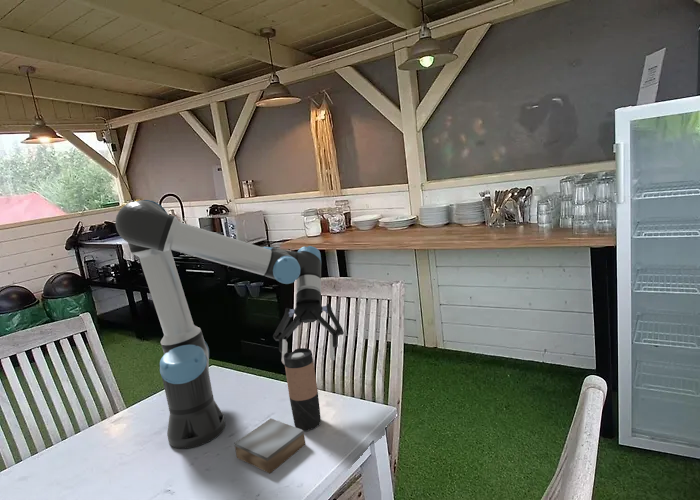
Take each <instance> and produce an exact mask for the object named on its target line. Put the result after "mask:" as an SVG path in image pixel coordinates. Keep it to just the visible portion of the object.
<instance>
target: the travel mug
mask: <svg viewBox="0 0 700 500" xmlns="http://www.w3.org/2000/svg"><path fill="white" fill-rule="evenodd" d="M284 363H285V365H284V368H285V369H284V370H285V375H286V376H285V377H286V383H287V389H288V390H287V391H288V398H289V403H290V408H291V412H292V417H293V422H294V423H293V425H294V427H296V428H299V429H302V430H303V431H304V432H305V431H307V432H308V431H311V430H314V429H316V428H317V427H319V426H320V425H321V422H322V419H321V418H322V417H321V409H320V400H319V392H318V383H317V377H316V372H315V363H314V358H313V352H312V350H311V349H309V348H308V347H307V348H305V347H302V348H301V347H300V348H295V349H294V350H293V351H292V352H287V353H285V354H284Z"/></svg>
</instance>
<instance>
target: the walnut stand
mask: <svg viewBox="0 0 700 500" xmlns="http://www.w3.org/2000/svg"><path fill="white" fill-rule="evenodd" d="M233 445H234V449H235V453H236V458H237V459H238V460H241V461H243V462H245V463H247V464H249V465H251V466H253V467H255V468H257V469H260V470H261V471H263V472H266V473H268V474H272V473H273V471H275V470H276V469H278V468H279V467H280V466H281V465H282V464H283V463H285V462H287V461H288V460H289V459H291V457H292V456H294V455H296V453H297V452H299V451H300V450H301V449H302V448H304V447H305V446H306V437H305V431H303V430H302V429H299V428H296V427H295V426H293V425H290V424H288V423H286V422H282V421H279V420H278V419H277V420H276V419H274V418H269V419H268V420H266V421H265V422H263V423H261V424H260V425H259V426H256V428H254V429H253V430H251V431H250V432H249V433H247V434H245V435H244V436H242V437H241V438H240V439H238V440H237V441H235V442H234V443H233Z"/></svg>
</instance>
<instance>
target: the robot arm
mask: <svg viewBox="0 0 700 500" xmlns="http://www.w3.org/2000/svg"><path fill="white" fill-rule="evenodd" d="M115 228H116V231H117V234H118V235H119V236H120V238H121V239H123V241H125V242H127V244H128V247H129V250H130V253H131V255H134V256H135V257H138V258H139V262H140V265H141V268H142V272H143V274H144V277H145V280H146V284H147V286H148V289H149V293H150V296H151V299H152V302H153V305H154V309H155V311H156V314H157V317H158V320H159V323H160V327H161V329H162V333H163V337H162V338H161V340H160V345H161V348H162V351H163V356H162V357H161V358H160V361H159V373H160V376H161V379H162V383H163V389H164V393H165V396H166V401H167V406H168V410H169V417H168V425H167V432H166V433H167V435H166V437H167V440H168V444H169V445H170V446H171V447H173V448H176V449H191V448H195V447H199V446H202V445H204V444H207V443H209V442H211V441H212V440H214V439H215V438H217V437H218V436H220V435H221V434H222V432H223V431H224V430H225V428H226V421H225V420H226V419H225V416H224V413H223V411H222V410H221V408H220V407H219V406H218V404H217V402H216V401H215V398H214V394H213V387H212V383H211V377H210V371H209V370H210V368H209V366H210V365H209V362H210V361H209V360H210V359H209V358H210V348H209V346H208V343H207V342H206V341H205V339H204V335H203V332H202V329H201V327H198V326H197V325H195V324H194V321H193V318H192V315H191V311H190V308H189V304H188V301H187V298H186V296H185V292H184V289H183V286H182V282H181V279H180V276H179V273H178V269H177V267H176V262H175V259H174V255H173V253H172V251H174V252H178V253H182V254H185V255H189V256H192V257H196V258H199V259H203V260H206V261H210V262H213V263H218V264H221V265H223V266H228V267H232V268H235V269H237V270H238V269H239V270H243V271H247V272H249V273H253V274H257V275H260V276H264V277H267V278H268V279H269V278H270V279H273V280H276V281H277V282H279V283H281V284H285V285H289V284H293V283H294V282H296V290H295V291H296V295H295V308H294V309H293V308H292V309H291V308H289V307H286V308H285V309H284V310H285V311H284V314H283V316H282V319H281V320H280V322H279V324H278V326H277V327H276V329H275V331H274V333H273V335H272V338H273V339H274V340H275V342H278V352H280V353H281V363H282V364H283V365H284V366H285V363H284V354H285V353H288V341H287V339H288V338H289V337H290V336H291V335H292V334H293V333H294V331H295V330H296V329H297V328H298V326H301V324H302V323H304V324H308V323H315V322H316V321H317V322H318V323H319V324H320V325H322V327H324V329H326V331H328V333H330V334H329V357H330V360H331V361H335V348H336V349H337V348H338V346H339V343H338V342H339V340H338V339H339V338H338V337H339V336H343V335H344V334H345V332H344V329H343V327H342V325H341V323H339V321H338V319H337V317H336V315H335V314H334V312H333V308H332V305H331V303H327V304H326V305H324V306H322V257H321V256H322V255H321V252H320V250H319V248H317V247H315V246H311V245H308V246H302V247H300V248H299V249H298V250H297V251H291V250H286V249H281V248H276V247H273V246H272V247H270V246H259V245H256V244H252V243H250V242H247V241H243V240H239V239H237V238H233V237H229V236H226V235H223V234H222V233H221V234H220V233H217V232H214V231H211V230H208V229H203V228H201V227H197V226H194V225H191V224H188V223H185V222H181V221H179V219H178V217H177V216H175V215H172V214H169V213H168V211H167V210H166V209H165V208H164V207H163V205H161V204H159V203H158V202H156V201H154V200H150V199H140V200H137V201H132V202H128V203H127V204H124V206H122V207H121V208H120V210H119V211H118V213H117V215H116V217H115ZM323 312H325V313H326V314H328V315H329V318H330V319H331V321H332V323H333V324H334V326H335V328H336V329H334V328H333V327H332V325H331V324H330V323H328V322H327V320H326V319H324V318H323V317H322V313H323ZM293 315H295V316H294V318H293V320H292V321H291V322H290V320H291V318H292V317H293ZM289 322H290V323H289Z"/></svg>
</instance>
